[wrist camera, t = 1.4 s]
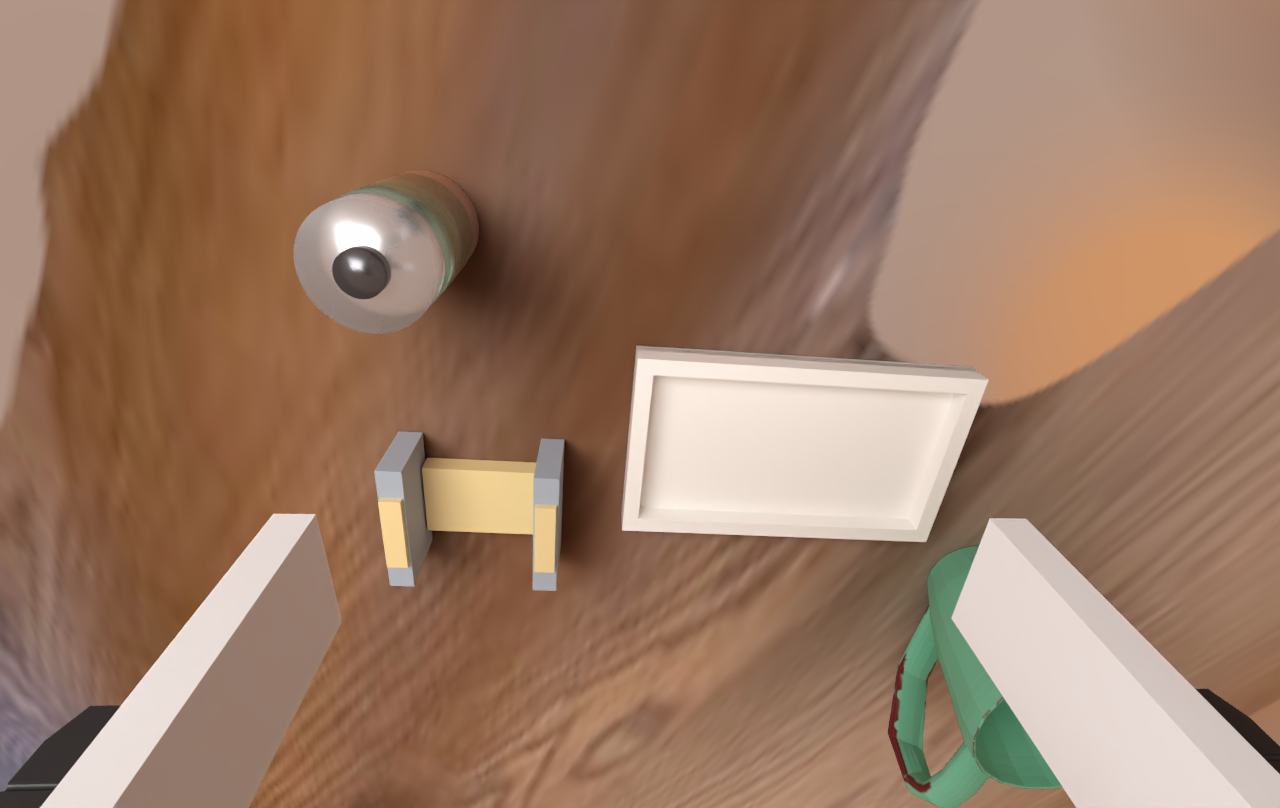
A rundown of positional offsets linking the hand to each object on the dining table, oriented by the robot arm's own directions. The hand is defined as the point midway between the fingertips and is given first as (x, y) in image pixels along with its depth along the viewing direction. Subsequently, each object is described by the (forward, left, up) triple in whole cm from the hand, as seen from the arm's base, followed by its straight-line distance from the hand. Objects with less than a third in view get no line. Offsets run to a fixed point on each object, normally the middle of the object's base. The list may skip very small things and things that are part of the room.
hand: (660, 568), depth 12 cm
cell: (-3, -9, -18) cm, 20 cm away
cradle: (+11, -7, -18) cm, 22 cm away
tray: (+7, +9, -18) cm, 21 cm away
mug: (+18, +21, -18) cm, 33 cm away
